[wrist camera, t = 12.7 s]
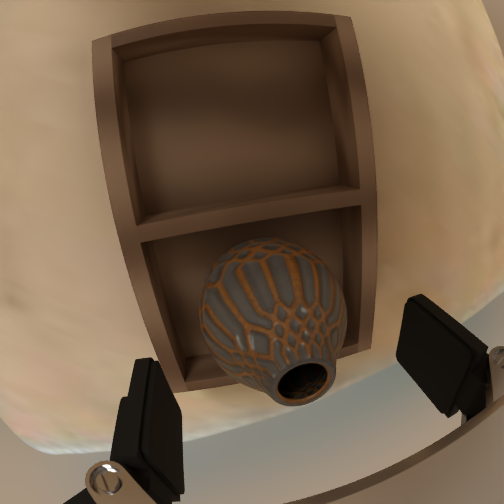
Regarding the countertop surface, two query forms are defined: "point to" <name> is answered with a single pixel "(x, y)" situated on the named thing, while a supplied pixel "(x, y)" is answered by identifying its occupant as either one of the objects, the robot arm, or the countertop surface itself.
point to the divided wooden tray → (235, 162)
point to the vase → (274, 319)
